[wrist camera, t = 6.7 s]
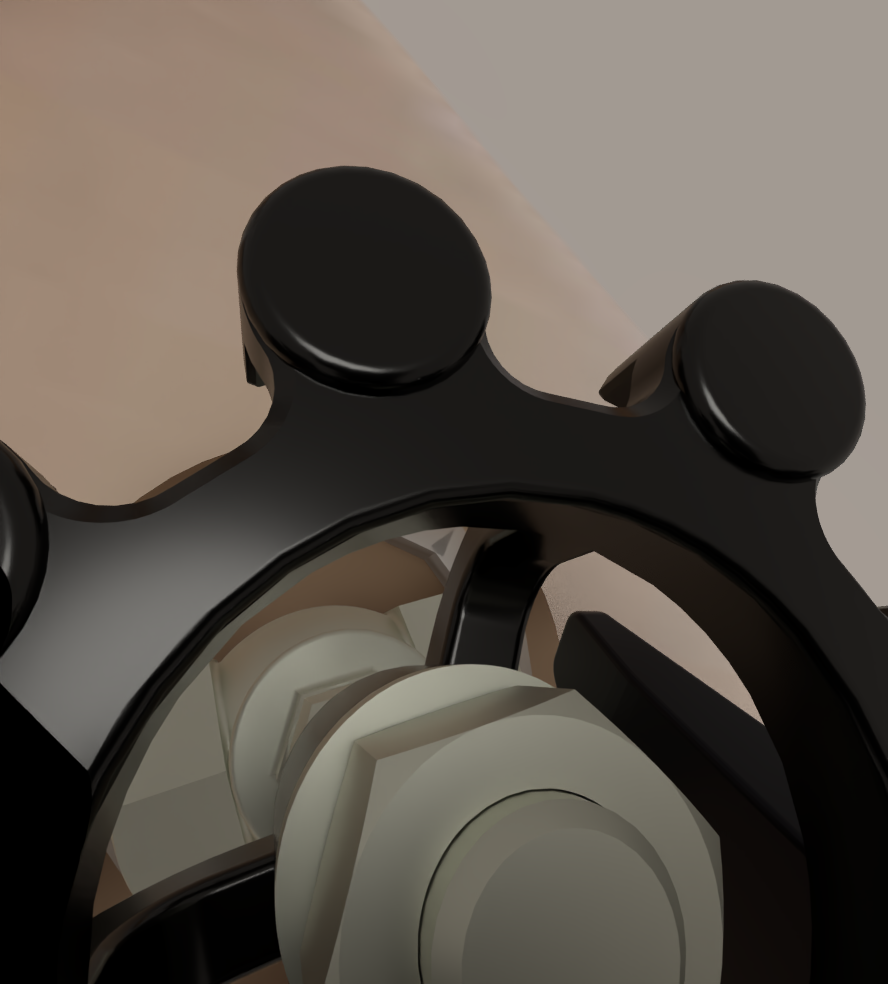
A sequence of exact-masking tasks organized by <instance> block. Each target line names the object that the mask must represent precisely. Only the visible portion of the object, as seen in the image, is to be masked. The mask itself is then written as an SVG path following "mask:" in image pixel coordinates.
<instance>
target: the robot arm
mask: <svg viewBox="0 0 888 984" xmlns="http://www.w3.org/2000/svg"><path fill="white" fill-rule="evenodd" d="M553 672H554V679H555V683H556V687H557V688H563V689H575V690H576V691H577V692H578V693H579V694H581V695H582V696H583V697H584V698H585V699H586V700H587V701H589V702H590V703H591V704H592V705H593V706H594V707H595V708H596V709H598V710H599V711H600V712H601V713H602V714H603V715H604V716H605V717H606V718H607V719H609V720H610V721H611V722H612V723H613V724H614V725H615V726H616V727H617V728H618V729H619V730H621V731H622V732H623V733H624V734H625V735H626V736H627V737H628V738H629V739H630V740H631V741H632V742H633V743H634V744H635V745H636V746H637V747H638V748H639V749H640V750H641V751H642V752H643V753H644V754H645V755H646V756H647V757H648V758H649V759H650V760H651V761H652V762H653V763H654V764H655V765H656V766H657V767H658V768H659V769H660V770H661V771H662V772H663V773H664V774H665V775H666V776H667V777H668V778H669V779H670V780H671V781H672V782H673V783H674V784H675V785H676V787H677V788H678V789H679V790H680V791H681V792H682V793H683V794H684V795H685V796H686V798H687V799H688V800H689V801H690V802H691V803H692V804H693V806H694V807H695V808H696V809H697V810H698V811H699V813H700V814H701V815H702V816H703V817H704V818H705V820H706V821H707V822H708V823H709V824H710V826H711V827H712V828H713V829H714V831H715V832H716V833H717V834H718V836H719V837H720V849H721V861H722V878H723V908H724V933H723V956H722V971H721V982H720V984H809V983H810V975H811V943H812V919H811V901H810V884H809V876H808V869H807V862H806V855H805V848H804V841H803V837H802V833H801V829H800V826H799V822H798V818H797V815H796V811H795V807H794V804H793V800H792V797H791V793H790V789H789V786H788V782H787V778H786V775H785V771H784V767H783V764H782V761H781V759H780V757H779V755H778V752H777V750H776V748H775V746H774V744H773V742H772V740H771V738H770V736H769V733H768V731H767V729H766V727H765V726H764V725H763V724H762V723H760V722H759V721H757V720H756V719H754V718H753V717H752V716H750V715H749V714H747V713H746V712H745V711H743V710H742V709H740V708H739V707H737V706H736V705H735V704H733V703H732V702H730V701H729V700H728V699H726V698H725V697H723V696H722V695H720V694H719V693H718V692H716V691H715V690H713V689H712V688H711V687H709V686H708V685H706V684H705V683H703V682H702V681H701V680H699V679H698V678H696V677H695V676H694V675H692V674H691V673H689V672H688V671H686V670H685V669H684V668H682V667H681V666H679V665H678V664H677V663H675V662H674V661H672V660H671V659H669V658H668V657H667V656H665V655H664V654H662V653H661V652H660V651H658V650H657V649H655V648H654V647H652V646H651V645H650V644H648V643H647V642H645V641H644V640H643V639H641V638H640V637H638V636H637V635H635V634H634V633H633V632H631V631H630V630H628V629H627V628H626V627H624V626H623V625H621V624H620V623H618V622H617V621H616V620H614V619H613V618H611V617H610V616H609V615H607V614H605V613H603V612H599V611H576V612H574V613H572V614H571V615H570V616H569V618H568V620H567V622H566V625H565V628H564V631H563V634H562V637H561V640H560V643H559V645H558V648H557V651H556V654H555V657H554V663H553Z"/></svg>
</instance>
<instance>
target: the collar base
mask: <svg viewBox="0 0 888 984" xmlns="http://www.w3.org/2000/svg"><path fill="white" fill-rule="evenodd" d="M224 455H226V454H224ZM224 455H221V456H218V457H215V458H212V459H210V460H207V461H204V462H202V463H200V464H198V465H195V466H193V467H191V468H189V469H187V470H185V471H183V472H181V473H179V474H177V475H175V476H173V477H171V478H170V479H168V480H167V481H165V482H164V483H162V484H160V485H159V486H157V487H156V488H154V489H153V490H151V491H150V492H148V493H147V494H145V495H144V496H142V497H141V498H139V499H138V500H137V501H136V502H135V503H137V502H140V501H143V500H146V499H149V498H152V497H155V496H157V495H158V494H160V493H162V492H164V491H166V490H167V489H169V488H171V487H173V486H174V485H176V484H178V483H179V482H181V481H183V480H184V479H186V478H188V477H189V476H191V475H193V474H194V473H196V472H198V471H199V470H201V469H203V468H204V467H206V466H208V465H209V464H211V463H213V462H214V461H216V460H217V459H219V458H221V457H222V456H224ZM467 529H468V527H454V528H445V529H436V530H427V531H421V532H417V533H413V534H409V535H405V536H400V537H396V538H392V539H388V540H385V541H382V542H379V543H377V544H374V545H371V546H368V547H366V548H363V549H360V550H358V551H355V552H352V553H350V554H347V555H345V556H343V557H341V558H340V559H338V560H336V561H334V562H332V563H330V564H328V565H326V566H324V567H322V568H320V569H318V570H316V571H314V572H312V573H311V574H309V575H308V576H307V577H305V578H304V579H303V580H301V581H300V582H299V583H297V584H296V585H295V586H293V587H292V588H291V589H289V590H288V591H287V592H285V593H284V594H283V595H281V596H280V597H279V598H277V599H276V600H275V601H273V602H272V603H271V604H269V605H268V606H266V607H265V608H264V609H262V610H261V611H260V612H258V613H257V614H256V615H254V616H253V617H252V618H250V619H249V620H248V621H246V622H245V623H244V624H242V625H241V627H240V628H239V629H238V630H237V631H236V632H235V633H234V635H233V636H232V637H231V638H230V639H229V640H228V642H227V643H226V644H225V645H224V646H223V647H222V648H221V650H220V651H219V652H218V653H217V654H216V655H215V656H214V658H213V659H212V660H217V661H218V663H219V662H221V661H222V660H223V659H224V657H225V656H226V655H227V654H228V653H229V652H230V651H231V650H232V649H233V648H234V647H235V646H236V645H237V644H239V643H240V642H241V641H242V640H243V639H245V638H246V637H247V636H249V635H250V634H251V633H253V632H254V631H256V630H257V629H259V628H260V627H262V626H264V625H265V624H267V623H269V622H271V621H273V620H275V619H277V618H280V617H282V616H285V615H287V614H290V613H293V612H296V611H299V610H303V609H308V608H313V607H320V606H333V605H338V606H353V607H359V608H364V609H369V610H372V611H376V612H379V613H381V614H383V613H385V612H387V611H389V610H391V609H393V608H395V607H397V606H400V605H404V604H407V603H411V602H414V601H418V600H421V599H425V598H429V597H432V596H436V595H439V594H443V591H444V588H445V585H446V582H447V579H448V576H449V573H450V570H451V567H452V565H453V562H454V559H455V557H456V554H457V552H458V549H459V547H460V545H461V542H462V540H463V537H464V535H465V533H466V531H467ZM558 645H559V640H558V636H557V631H556V627H555V623H554V620H553V618H552V615H551V612H550V609H549V606H548V603H547V600H546V598H545V595H544V593H543V591H542V589H541V588H540V590H539V592H538V594H537V596H536V598H535V601H534V604H533V606H532V609H531V612H530V615H529V619H528V622H527V626H526V630H525V635H524V640H523V645H522V650H521V656H520V661H519V666H520V669H521V672H523V673H525V674H528V675H530V676H533V677H535V678H538V679H540V680H542V681H544V682H546V683H547V684H549V685H551V686H553V687H555V688H557V687H556V683H555V679H554V672H553V663H554V657H555V654H556V651H557V648H558ZM132 895H133V894H132V893H131V891H130V889H129V888H128V886H127V884H126V882H125V880H124V878H123V875H122V873H121V870H120V867H119V864H118V861H117V858H116V855H115V851H114V847H113V844H112V840H111V838H110V841H109V844H108V847H107V851H106V855H105V859H104V863H103V867H102V872H101V876H100V880H99V884H98V888H97V892H96V896H95V901H94V907H93V917H95V916H96V915H98V914H99V913H101V912H103V911H105V910H106V909H108V908H110V907H112V906H114V905H116V904H117V903H119V902H121V901H123V900H125V899H126V898H128V897H130V896H132ZM231 984H290V983H289V981H288V978H287V975H286V972H285V968H284V965H283V961H280V962H278V963H276V964H274V965H271V966H269V967H267V968H265V969H262V970H260V971H258V972H256V973H253V974H251V975H249V976H247V977H244V978H242V979H240V980H238V981H236V982H233V983H231Z"/></svg>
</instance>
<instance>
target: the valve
mask: <svg viewBox="0 0 888 984" xmlns="http://www.w3.org/2000/svg"><path fill="white" fill-rule="evenodd" d="M237 280H238V293H239V306H240V319H241V331H242V344H243V356H244V366H245V372H246V378H247V382H248V383H249V384H252V385H255V386H257V387H260V386H264V385H266V387H267V389H268V391H269V394H270V397H271V400H272V405H271V408H270V411H269V413H268V416H267V418H266V419H265V421H264V422H263V424H262V425H261V427H260V428H259V430H258V431H257V432H256V433H255V434H254V435H253V436H252V437H251V438H250V439H249V440H248V441H246V442H245V443H243V444H242V445H240V446H239V447H237V448H236V449H234V450H232V451H231V452H229V453H227V454H226V455H224V456H222V457H221V458H219V459H217V460H216V461H214V462H213V463H211V464H209V465H208V466H206V467H204V468H203V469H201V470H199V471H198V472H196V473H194V474H193V475H191V476H189V477H188V478H186V479H184V480H183V481H181V482H179V483H178V484H176V485H174V486H173V487H171V488H169V489H167V490H166V491H164V492H162V493H160V494H158V495H157V496H155V497H152V498H149V499H146V500H143V501H140V502H137V503H132V504H125V505H119V506H104V505H93V504H88V503H83V502H78V501H75V500H73V499H71V498H68V497H66V496H63V495H61V494H59V493H58V492H57V491H56V488H54V487H53V486H52V485H51V484H50V483H49V482H48V481H47V480H46V479H45V478H44V476H43V475H41V474H40V473H39V472H38V471H37V470H36V469H34V468H33V467H32V466H31V465H30V464H29V463H27V462H26V461H25V460H24V459H23V458H21V457H20V456H19V455H18V454H17V453H16V452H14V451H13V450H12V449H11V448H10V447H9V446H7V445H6V444H5V443H4V442H2V441H1V440H0V984H231V983H233V982H236V981H238V980H240V979H242V978H244V977H247V976H249V975H251V974H253V973H256V972H258V971H260V970H262V969H265V968H267V967H269V966H271V965H274V964H276V963H278V962H280V961H283V965H284V968H285V972H286V975H287V978H288V981H289V983H290V984H720V982H721V971H722V956H723V933H724V908H723V878H722V861H721V849H720V837H719V836H718V834H717V833H716V832H715V831H714V829H713V828H712V827H711V826H710V824H709V823H708V822H707V821H706V820H705V818H704V817H703V816H702V815H701V814H700V813H699V811H698V810H697V809H696V808H695V807H694V806H693V804H692V803H691V802H690V801H689V800H688V799H687V798H686V796H685V795H684V794H683V793H682V792H681V791H680V790H679V789H678V788H677V787H676V785H675V784H674V783H673V782H672V781H671V780H670V779H669V778H668V777H667V776H666V775H665V774H664V773H663V772H662V771H661V770H660V769H659V768H658V767H657V766H656V765H655V764H654V763H653V762H652V761H651V760H650V759H649V758H648V757H647V756H646V755H645V754H644V753H643V752H642V751H641V750H640V749H639V748H638V747H637V746H636V745H635V744H634V743H633V742H632V741H631V740H630V739H629V738H628V737H627V736H626V735H625V734H624V733H623V732H622V731H621V730H619V729H618V728H617V727H616V726H615V725H614V724H613V723H612V722H611V721H610V720H609V719H607V718H606V717H605V716H604V715H603V714H602V713H601V712H600V711H599V710H598V709H596V708H595V707H594V706H593V705H592V704H591V703H590V702H589V701H587V700H586V699H585V698H584V697H583V696H582V695H581V694H579V693H578V692H577V691H576V690H575V689H563V688H555V687H553V686H551V685H549V684H547V683H546V682H544V681H542V680H540V679H538V678H535V677H533V676H530V675H528V674H525V673H523V672H521V669H520V666H519V661H520V656H521V650H522V645H523V640H524V635H525V630H526V626H527V622H528V619H529V615H530V612H531V609H532V606H533V604H534V601H535V598H536V596H537V594H538V592H539V590H540V588H541V586H542V584H543V583H544V581H545V579H546V578H547V576H548V575H549V574H550V573H551V571H552V570H553V569H554V568H555V567H556V566H557V565H559V564H561V563H563V562H565V561H568V560H571V559H574V558H577V557H579V556H582V555H585V554H588V553H591V552H593V551H595V552H597V553H598V554H600V555H602V556H604V557H605V558H607V559H609V560H611V561H612V562H614V563H616V564H618V565H619V566H621V567H623V568H625V569H626V570H628V571H630V572H631V573H633V574H635V575H637V576H638V577H640V578H642V579H644V580H645V581H647V582H649V583H651V584H652V585H654V586H655V587H656V588H657V589H659V590H660V591H661V592H662V593H664V594H665V595H666V596H667V597H668V598H670V599H671V600H672V601H673V602H675V603H676V604H677V605H678V606H679V607H681V608H682V609H683V610H684V611H685V612H686V613H687V614H688V616H689V617H690V618H691V619H692V620H693V621H694V622H695V623H696V624H697V625H698V626H699V627H700V628H701V629H702V630H703V631H704V632H705V633H706V634H707V635H708V636H709V638H710V639H711V640H712V641H713V643H714V644H715V645H716V646H717V648H718V649H719V650H720V651H721V653H722V654H723V655H724V656H725V658H726V659H727V660H728V661H729V663H730V664H731V666H732V667H733V669H734V670H735V672H736V673H737V675H738V676H739V678H740V679H741V681H742V683H743V684H744V686H745V687H746V689H747V690H748V692H749V693H750V695H751V697H752V699H753V702H754V704H755V706H756V708H757V710H758V712H759V714H760V716H761V719H762V721H763V723H764V725H765V727H766V729H767V731H768V733H769V736H770V738H771V740H772V742H773V744H774V746H775V748H776V750H777V752H778V755H779V757H780V759H781V761H782V764H783V767H784V771H785V775H786V778H787V782H788V786H789V789H790V793H791V797H792V800H793V804H794V807H795V811H796V815H797V818H798V822H799V826H800V829H801V833H802V837H803V841H804V848H805V855H806V862H807V869H808V876H809V884H810V901H811V919H812V943H811V975H810V983H809V984H888V606H881V607H877V606H876V605H875V604H874V603H873V602H872V600H871V599H870V597H869V596H868V595H867V593H866V592H865V591H864V590H863V588H862V587H861V586H860V584H859V583H858V582H857V581H856V579H855V578H854V577H853V576H852V575H851V574H850V572H849V571H848V570H847V569H846V568H845V566H844V565H843V564H842V563H841V562H840V560H839V559H838V558H837V556H836V555H835V553H834V552H833V550H832V549H831V547H830V545H829V544H828V542H827V540H826V538H825V536H824V533H823V530H822V528H821V525H820V522H819V518H818V514H817V508H816V499H815V497H816V491H817V486H818V483H819V481H820V478H821V477H822V476H825V475H827V474H829V473H831V472H832V471H834V469H836V468H837V467H839V466H840V465H841V464H842V463H844V461H845V460H846V459H847V457H848V456H849V455H850V454H851V453H852V451H853V450H854V448H855V446H856V444H857V442H858V440H859V438H860V436H861V432H862V428H863V424H864V420H865V406H866V402H865V392H864V385H863V381H862V377H861V373H860V370H859V367H858V365H857V362H856V359H855V357H854V355H853V353H852V351H851V350H850V348H849V346H848V344H847V342H846V340H845V339H844V338H843V336H842V335H841V334H840V332H839V331H838V330H837V328H836V327H835V325H834V324H833V323H832V322H831V321H830V320H829V319H828V318H827V317H826V316H825V315H824V314H823V313H822V312H821V311H820V310H819V309H818V308H817V307H816V306H814V305H813V304H811V303H810V302H809V301H807V300H806V299H804V298H803V297H801V296H800V295H798V294H796V293H794V292H792V291H790V290H788V289H785V288H783V287H781V286H779V285H775V284H770V283H766V282H762V281H757V280H753V281H734V282H730V283H726V284H722V285H719V286H717V287H715V288H713V289H711V290H709V291H707V292H705V293H704V294H702V295H701V296H700V297H699V298H698V299H697V300H695V301H694V302H693V303H692V304H691V305H689V306H688V307H687V308H686V309H685V310H684V311H682V312H681V313H680V314H679V315H678V316H677V317H675V318H674V319H673V320H672V321H671V322H669V323H668V324H667V325H666V326H665V327H664V328H662V329H661V330H660V331H659V332H658V333H657V334H656V335H654V336H653V337H652V338H651V339H650V340H648V341H647V342H646V343H645V344H644V345H643V346H641V347H640V348H639V349H638V350H637V351H636V352H635V353H633V354H632V355H631V356H630V357H629V358H628V359H626V360H625V361H624V362H623V363H622V364H621V365H619V366H618V367H617V368H616V369H615V370H614V371H613V372H612V373H611V374H610V375H609V376H608V377H607V379H606V381H605V382H604V384H603V385H602V387H601V389H600V390H599V395H600V396H601V397H602V398H603V399H604V400H605V401H607V402H609V403H611V404H613V405H615V406H617V407H608V406H603V405H598V404H594V403H589V402H585V401H580V400H576V399H571V398H567V397H562V396H558V395H553V394H549V393H545V392H541V391H537V390H535V389H532V388H530V387H528V386H526V385H524V384H522V383H521V382H520V381H518V380H517V379H515V378H514V377H512V376H511V375H510V374H509V373H508V372H507V371H506V370H505V369H504V368H503V367H502V366H501V364H500V363H499V361H498V360H497V359H496V357H495V356H494V354H493V352H492V350H491V348H490V345H489V343H488V340H487V336H486V332H485V330H486V327H487V323H488V320H489V317H490V308H491V298H492V296H491V283H490V276H489V272H488V268H487V264H486V261H485V258H484V256H483V254H482V252H481V249H480V247H479V245H478V243H477V240H476V239H475V237H474V236H473V234H472V233H471V232H470V230H469V229H468V227H467V226H466V224H465V223H464V222H463V220H462V219H461V218H460V217H459V216H458V215H457V214H456V213H455V212H454V211H453V210H452V209H451V208H450V207H449V206H448V205H447V204H446V203H445V202H444V201H443V200H442V199H440V198H439V197H437V196H436V195H434V194H433V193H431V192H430V191H428V190H427V189H425V188H424V187H422V186H421V185H419V184H418V183H415V182H413V181H411V180H408V179H406V178H404V177H401V176H399V175H397V174H394V173H391V172H387V171H382V170H378V169H374V168H369V167H358V166H337V167H330V168H322V169H316V170H313V171H310V172H307V173H304V174H301V175H298V176H296V177H295V178H293V179H291V180H289V181H287V182H285V183H283V184H281V185H280V186H279V187H278V188H277V189H275V190H274V191H273V192H272V193H270V194H269V195H268V196H267V197H266V198H265V199H264V200H263V201H262V202H261V203H260V205H259V206H258V207H257V208H256V210H255V211H254V212H253V213H252V215H251V217H250V219H249V221H248V223H247V225H246V227H245V229H244V231H243V234H242V238H241V242H240V246H239V250H238V259H237ZM454 527H468V529H467V531H466V533H465V535H464V537H463V540H462V542H461V545H460V547H459V549H458V552H457V554H456V557H455V559H454V562H453V565H452V567H451V570H450V573H449V576H448V579H447V582H446V585H445V588H444V591H443V594H439V595H436V596H432V597H429V598H425V599H421V600H418V601H414V602H411V603H407V604H404V605H400V606H397V607H395V608H393V609H391V610H389V611H387V612H385V613H383V614H381V613H379V612H376V611H372V610H369V609H364V608H359V607H353V606H338V605H333V606H320V607H313V608H308V609H303V610H299V611H296V612H293V613H290V614H287V615H285V616H282V617H280V618H277V619H275V620H273V621H271V622H269V623H267V624H265V625H264V626H262V627H260V628H259V629H257V630H256V631H254V632H253V633H251V634H250V635H249V636H247V637H246V638H245V639H243V640H242V641H241V642H240V643H239V644H237V645H236V646H235V647H234V648H233V649H232V650H231V651H230V652H229V653H228V654H227V655H226V656H225V657H224V659H223V660H222V661H221V662H219V663H218V661H217V660H212V659H213V658H214V656H215V655H216V654H217V653H218V652H219V651H220V650H221V648H222V647H223V646H224V645H225V644H226V643H227V642H228V640H229V639H230V638H231V637H232V636H233V635H234V633H235V632H236V631H237V630H238V629H239V628H240V627H241V625H242V624H244V623H245V622H246V621H248V620H249V619H250V618H252V617H253V616H254V615H256V614H257V613H258V612H260V611H261V610H262V609H264V608H265V607H266V606H268V605H269V604H271V603H272V602H273V601H275V600H276V599H277V598H279V597H280V596H281V595H283V594H284V593H285V592H287V591H288V590H289V589H291V588H292V587H293V586H295V585H296V584H297V583H299V582H300V581H301V580H303V579H304V578H305V577H307V576H308V575H309V574H311V573H312V572H314V571H316V570H318V569H320V568H322V567H324V566H326V565H328V564H330V563H332V562H334V561H336V560H338V559H340V558H341V557H343V556H345V555H347V554H350V553H352V552H355V551H358V550H360V549H363V548H366V547H368V546H371V545H374V544H377V543H379V542H382V541H385V540H388V539H392V538H396V537H400V536H405V535H409V534H413V533H417V532H421V531H427V530H436V529H445V528H454ZM110 838H111V840H112V844H113V847H114V851H115V855H116V858H117V861H118V864H119V867H120V870H121V873H122V875H123V878H124V880H125V882H126V884H127V886H128V888H129V889H130V891H131V893H132V894H133V895H132V896H130V897H128V898H126V899H125V900H123V901H121V902H119V903H117V904H116V905H114V906H112V907H110V908H108V909H106V910H105V911H103V912H101V913H99V914H98V915H96V916H95V917H93V907H94V901H95V896H96V892H97V888H98V884H99V880H100V876H101V872H102V867H103V863H104V859H105V855H106V851H107V847H108V844H109V841H110Z"/></svg>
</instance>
